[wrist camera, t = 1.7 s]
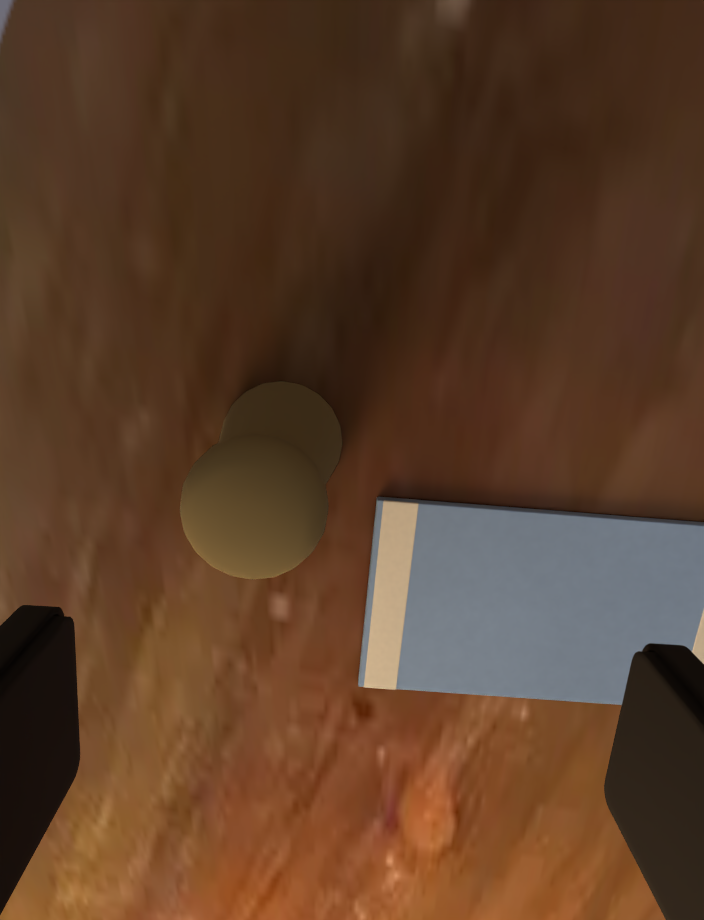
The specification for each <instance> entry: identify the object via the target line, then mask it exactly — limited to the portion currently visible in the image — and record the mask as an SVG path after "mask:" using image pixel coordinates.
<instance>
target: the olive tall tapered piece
mask: <svg viewBox="0 0 704 920" xmlns="http://www.w3.org/2000/svg"><path fill="white" fill-rule="evenodd" d="M341 449H342V435H341V428H340V424H339V422H338V419H337V417H336V415H335V413H334V411H333V409H332V407H331V406H330V405H329V404H328V403H327V402H326V401H325V400H324V399H323V398H322V397H321V396H320V395H319V394H318V393H316V392H314V391H312V390H310V389H308V388H307V387H305V386H303V385H300V384H295V383H290V382H285V381H278V382H270V383H263V384H261V385H259V386H256V387H254V388H252V389H250V390H248V391H246V392H245V393H244V394H243V395H242V396H241V397H240V398H239V399H238V400H237V401H235V402H234V403H233V404H232V406H231V408H230V410H229V412H228V414H227V416H226V418H225V420H224V423H223V426H222V430H221V434H220V438H219V442H218V443H217V444H215V445H213V446H212V447H211V448H210V449H209V450H208V451H207V452H206V453H205V454H204V455H202V456H201V457H200V458H199V459H198V460H197V461H196V462H195V463H194V465H193V466H192V468H191V470H190V472H189V474H188V476H187V478H186V480H185V482H184V484H183V488H182V496H181V504H180V515H181V520H182V524H183V529H184V533H185V535H186V537H187V538H188V540H189V542H190V543H191V545H192V547H193V549H194V550H195V552H196V553H197V554H198V555H200V556H201V557H202V558H203V559H204V560H205V561H206V562H207V563H208V564H209V565H211V566H212V567H214V568H216V569H218V570H220V571H222V572H224V573H226V574H228V575H230V576H235V577H241V578H247V579H252V580H253V579H262V578H271V577H276V576H278V575H280V574H283V573H285V572H287V571H290V570H292V569H294V568H295V567H296V566H297V565H299V564H300V563H301V562H302V561H303V560H304V559H305V558H307V557H308V556H309V555H310V554H311V553H312V552H313V550H314V549H315V547H316V545H317V543H318V542H319V540H320V538H321V537H322V535H323V533H324V530H325V525H326V520H327V515H328V498H327V491H326V483H327V481H328V480H329V478H330V476H331V474H332V473H333V471H334V469H335V467H336V466H337V464H338V462H339V459H340V454H341Z"/></svg>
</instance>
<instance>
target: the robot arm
mask: <svg viewBox="0 0 704 920" xmlns="http://www.w3.org/2000/svg"><path fill="white" fill-rule="evenodd" d="M79 760H80V741H79V719H78V698H77V676H76V654H75V632H74V622H73V619H72V618H71V617H64V613H63V611H62V609H61V608H60V607H48V606H32V605H22V606H21V607H19V608H18V609H17V610H16V611H15V612H14V613H13V614H12V615H11V616H10V617H9V618H8V619H7V620H6V621H5V622H4V623H3V624H2V625H1V626H0V914H1V913H2V911H3V909H4V907H5V905H6V903H7V902H8V900H9V898H10V896H11V894H12V892H13V891H14V889H15V887H16V885H17V883H18V881H19V880H20V878H21V876H22V874H23V872H24V870H25V869H26V867H27V865H28V863H29V861H30V859H31V858H32V856H33V854H34V852H35V850H36V848H37V847H38V845H39V843H40V841H41V839H42V837H43V836H44V834H45V832H46V830H47V828H48V826H49V825H50V823H51V821H52V819H53V817H54V816H55V814H56V812H57V810H58V808H59V806H60V805H61V803H62V801H63V799H64V797H65V795H66V794H67V792H68V790H69V788H70V786H71V784H72V783H73V781H74V778H75V776H76V773H77V770H78V766H79ZM604 791H605V798H606V802H607V805H608V807H609V810H610V812H611V814H612V815H613V817H614V819H615V821H616V823H617V825H618V827H619V829H620V831H621V833H622V835H623V837H624V839H625V841H626V843H627V845H628V847H629V849H630V851H631V852H632V854H633V856H634V858H635V860H636V862H637V864H638V866H639V868H640V870H641V872H642V874H643V876H644V878H645V880H646V882H647V884H648V886H649V888H650V889H651V891H652V893H653V895H654V897H655V899H656V901H657V903H658V905H659V907H660V909H661V911H662V913H663V915H664V917H665V919H666V920H704V664H703V663H702V662H701V661H700V660H699V659H698V658H697V657H696V656H695V655H694V654H693V653H692V651H691V650H690V649H688V648H687V647H686V646H683V645H671V644H654V643H649V644H647V645H645V647H644V648H643V650H642V651H638V652H636V653H635V654H634V656H633V658H632V662H631V666H630V671H629V675H628V680H627V684H626V689H625V693H624V698H623V702H622V707H621V711H620V716H619V720H618V724H617V729H616V733H615V738H614V742H613V747H612V751H611V756H610V760H609V765H608V769H607V774H606V778H605V785H604Z"/></svg>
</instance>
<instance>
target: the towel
mask: <svg viewBox="0 0 704 920" xmlns="http://www.w3.org/2000/svg"><path fill="white" fill-rule="evenodd" d="M649 643H654V644H671V645H683V646H686V647H687V648H688V649H690V650H691V651H692V653H693V654H694V655H695V656H696V657H697V658H698V659H699V660H700V661H701V662H702V663H703V664H704V522H693V521H680V520H668V519H655V518H642V517H629V516H617V515H604V514H591V513H579V512H566V511H553V510H540V509H528V508H515V507H502V506H490V505H477V504H464V503H451V502H439V501H426V500H415V499H402V498H390V497H377V501H376V511H375V521H374V531H373V540H372V550H371V560H370V570H369V580H368V589H367V599H366V609H365V619H364V629H363V639H362V648H361V658H360V668H359V678H358V685H359V686H361V687H366V688H380V689H404V690H418V691H432V692H446V693H461V694H475V695H489V696H504V697H518V698H532V699H546V700H561V701H575V702H589V703H604V704H618V705H622V702H623V698H624V693H625V689H626V684H627V680H628V675H629V671H630V666H631V662H632V658H633V656H634V654H635V653H636V652H638V651H642V650H643V648H644V647H645V645H647V644H649Z"/></svg>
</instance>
